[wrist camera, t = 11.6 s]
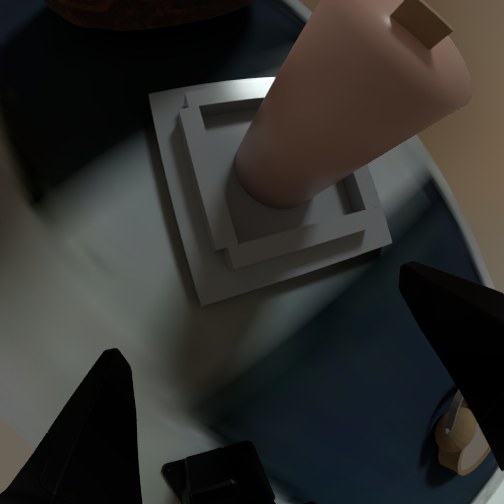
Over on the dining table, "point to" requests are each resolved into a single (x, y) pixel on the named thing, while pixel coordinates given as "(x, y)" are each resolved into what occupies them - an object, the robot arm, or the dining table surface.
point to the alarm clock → (460, 438)
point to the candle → (350, 96)
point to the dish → (249, 198)
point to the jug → (141, 12)
